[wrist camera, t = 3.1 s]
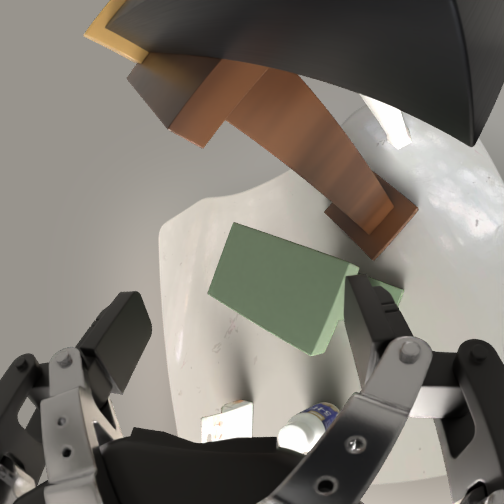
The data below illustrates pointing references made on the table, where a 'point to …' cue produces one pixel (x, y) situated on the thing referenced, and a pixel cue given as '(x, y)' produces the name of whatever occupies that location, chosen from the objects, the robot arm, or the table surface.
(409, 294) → the table surface
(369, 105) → the white faceted vase
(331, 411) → the pill bottle
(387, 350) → the robot arm
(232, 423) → the ink box
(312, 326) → the green piece
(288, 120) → the tall stand
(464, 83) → the bar
